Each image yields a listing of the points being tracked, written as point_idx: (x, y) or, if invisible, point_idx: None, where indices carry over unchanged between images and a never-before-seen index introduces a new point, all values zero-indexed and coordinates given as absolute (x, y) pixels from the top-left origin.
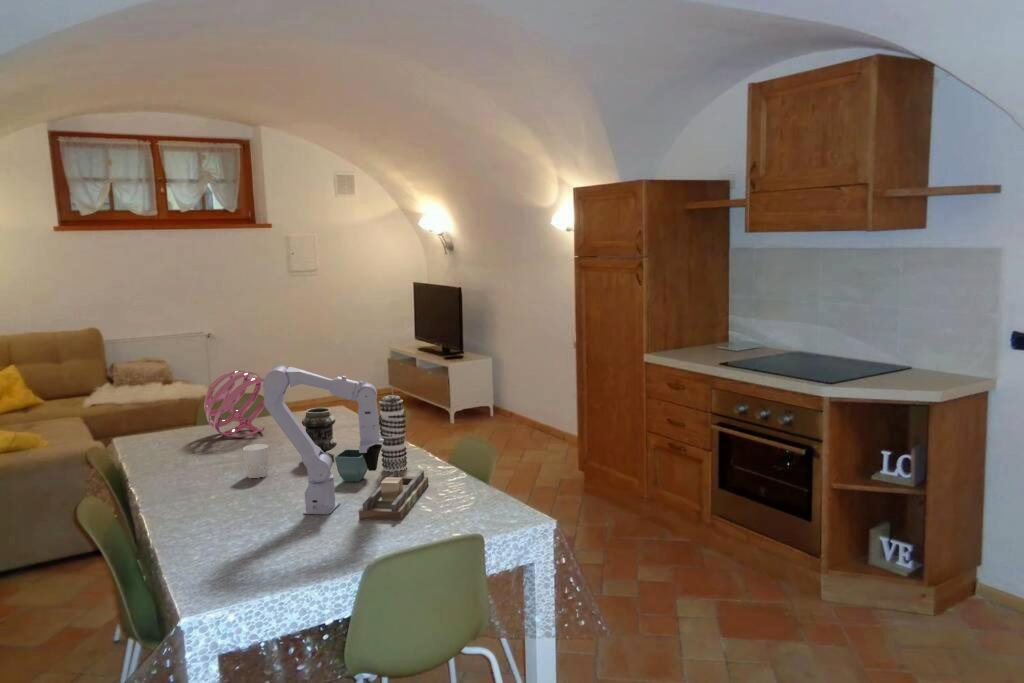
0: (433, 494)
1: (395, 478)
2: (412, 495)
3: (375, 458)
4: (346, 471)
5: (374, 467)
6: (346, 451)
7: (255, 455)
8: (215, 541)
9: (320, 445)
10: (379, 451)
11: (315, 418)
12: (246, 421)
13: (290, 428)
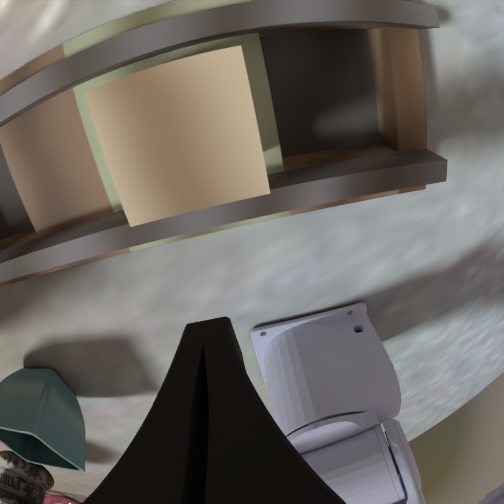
0: (10, 26)
1: (124, 133)
2: (139, 14)
3: (271, 419)
4: (71, 416)
5: (233, 342)
6: (28, 456)
7: None
8: (471, 372)
9: (34, 473)
10: (132, 482)
11: None
12: (44, 501)
13: None
